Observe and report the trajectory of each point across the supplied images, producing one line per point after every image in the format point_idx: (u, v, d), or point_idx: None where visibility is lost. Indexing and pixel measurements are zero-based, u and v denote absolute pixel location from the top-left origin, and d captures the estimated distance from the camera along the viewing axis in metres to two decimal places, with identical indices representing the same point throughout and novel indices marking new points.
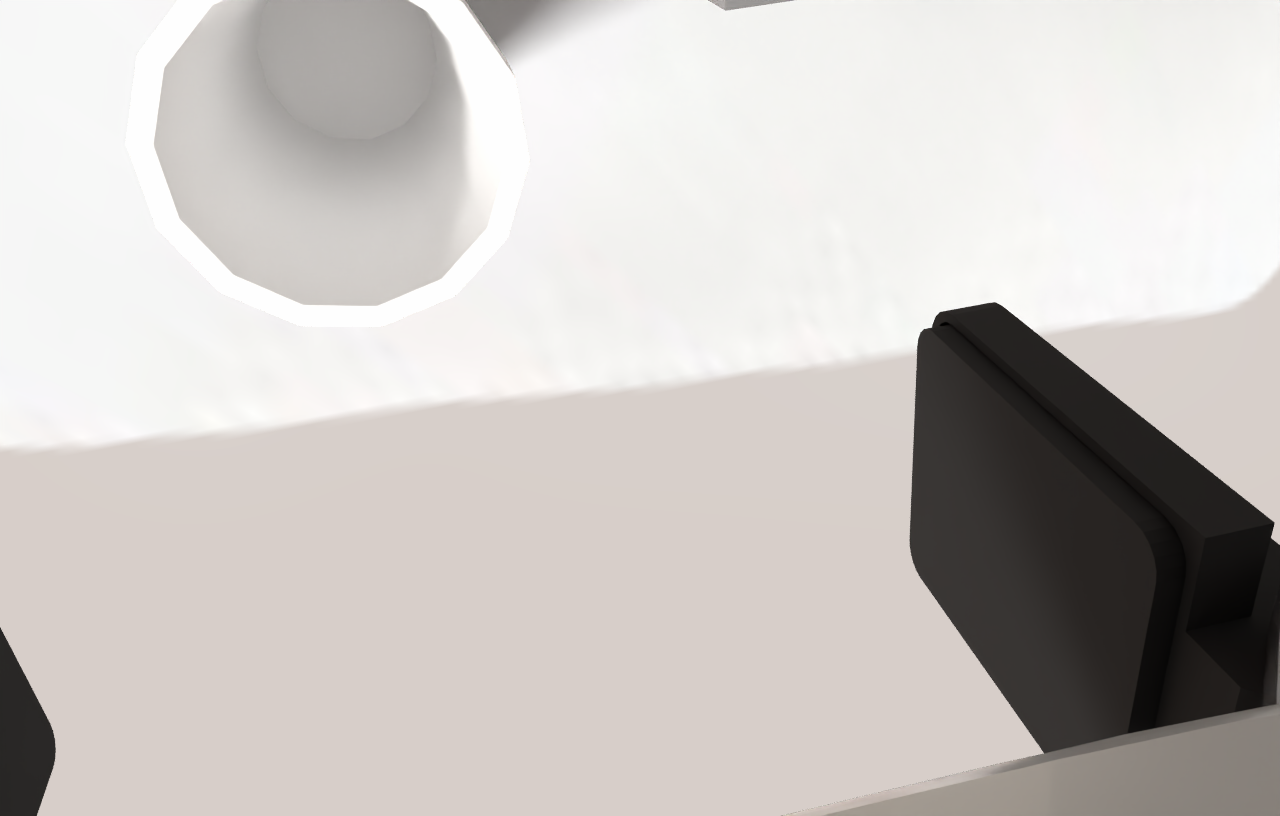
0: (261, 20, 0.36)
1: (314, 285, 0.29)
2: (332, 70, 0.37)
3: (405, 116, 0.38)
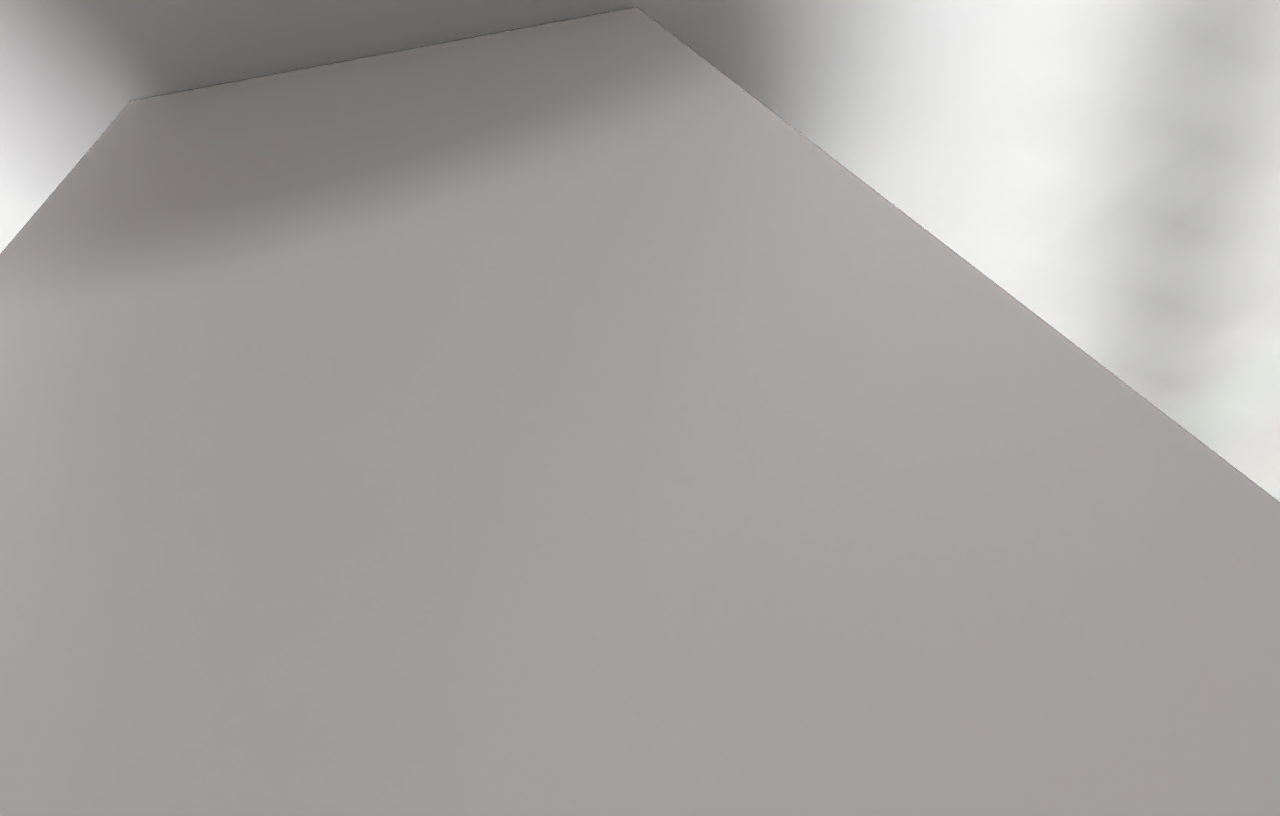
0: None
1: None
2: None
3: None
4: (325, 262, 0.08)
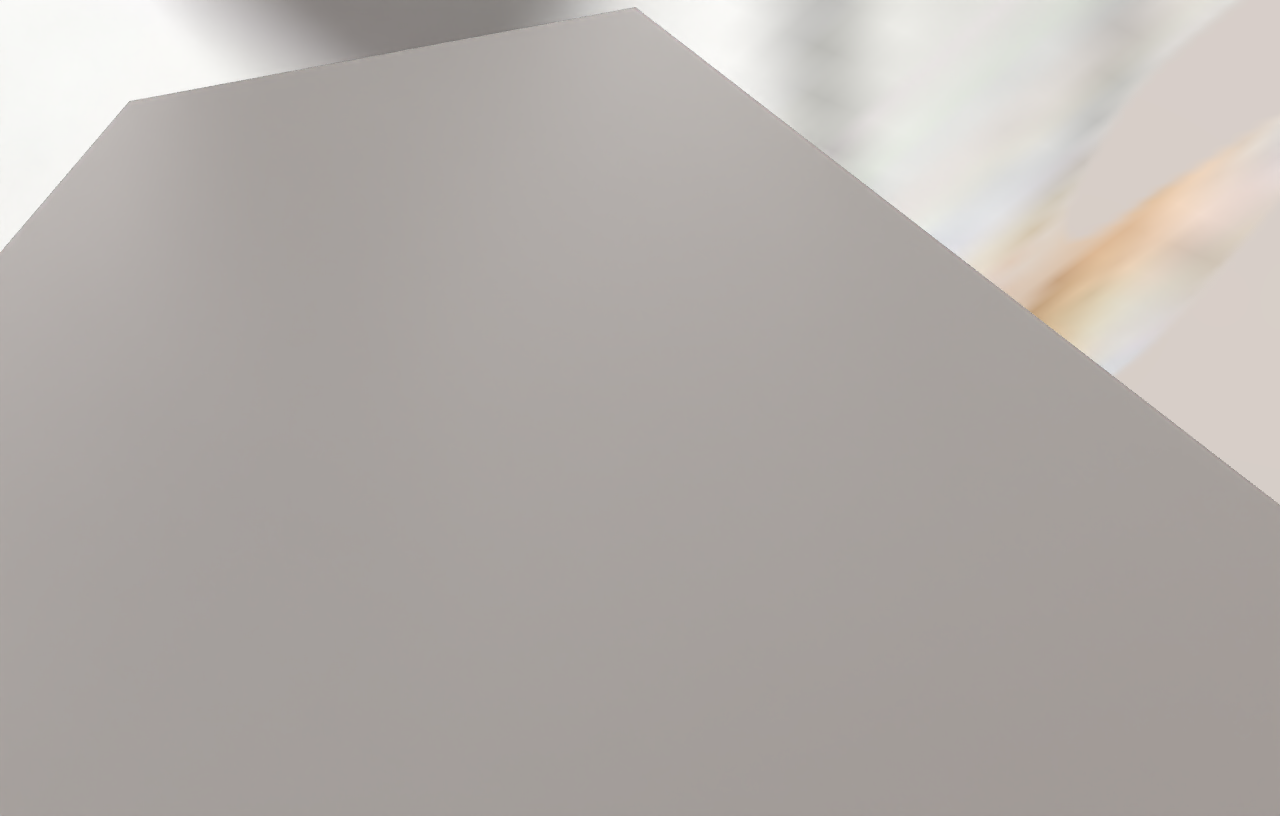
0: None
1: None
2: None
3: None
4: (323, 263, 0.08)
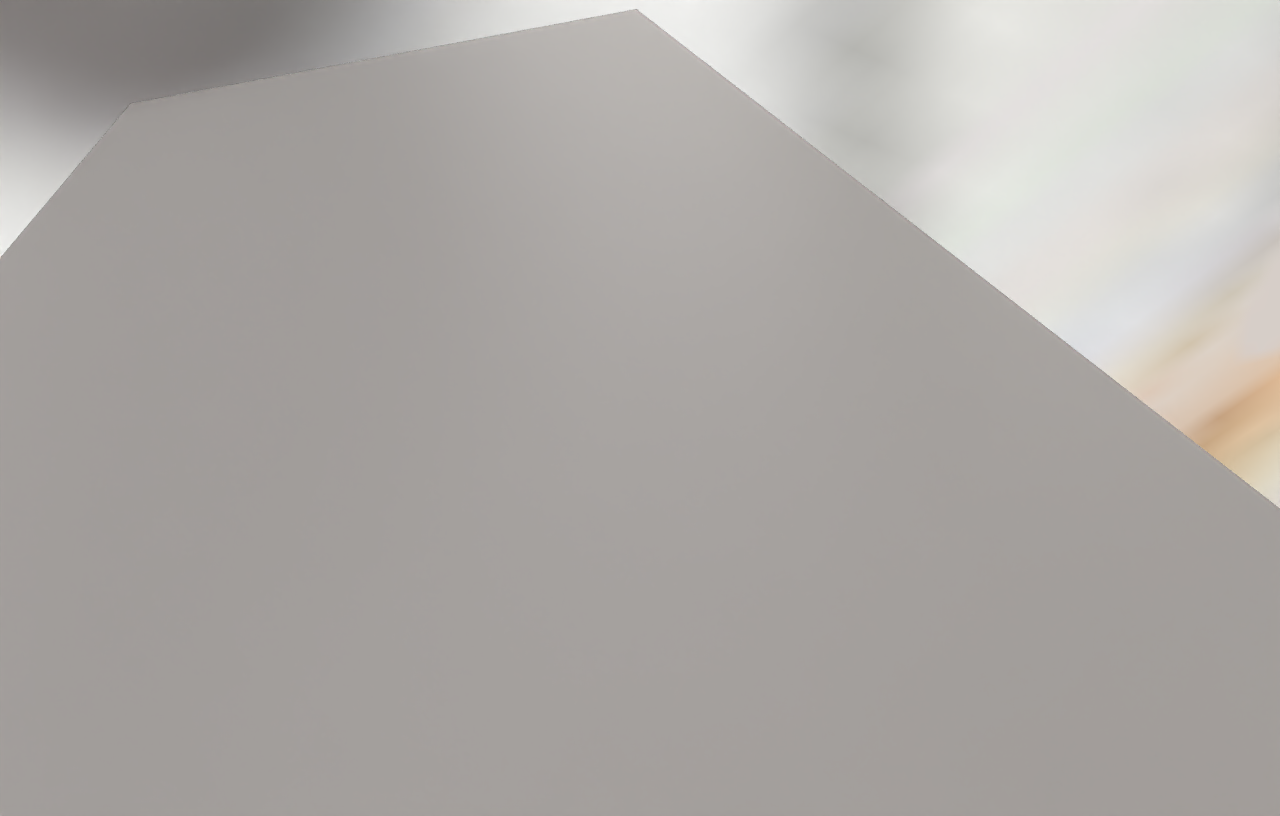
0: None
1: None
2: None
3: None
4: (325, 266, 0.08)
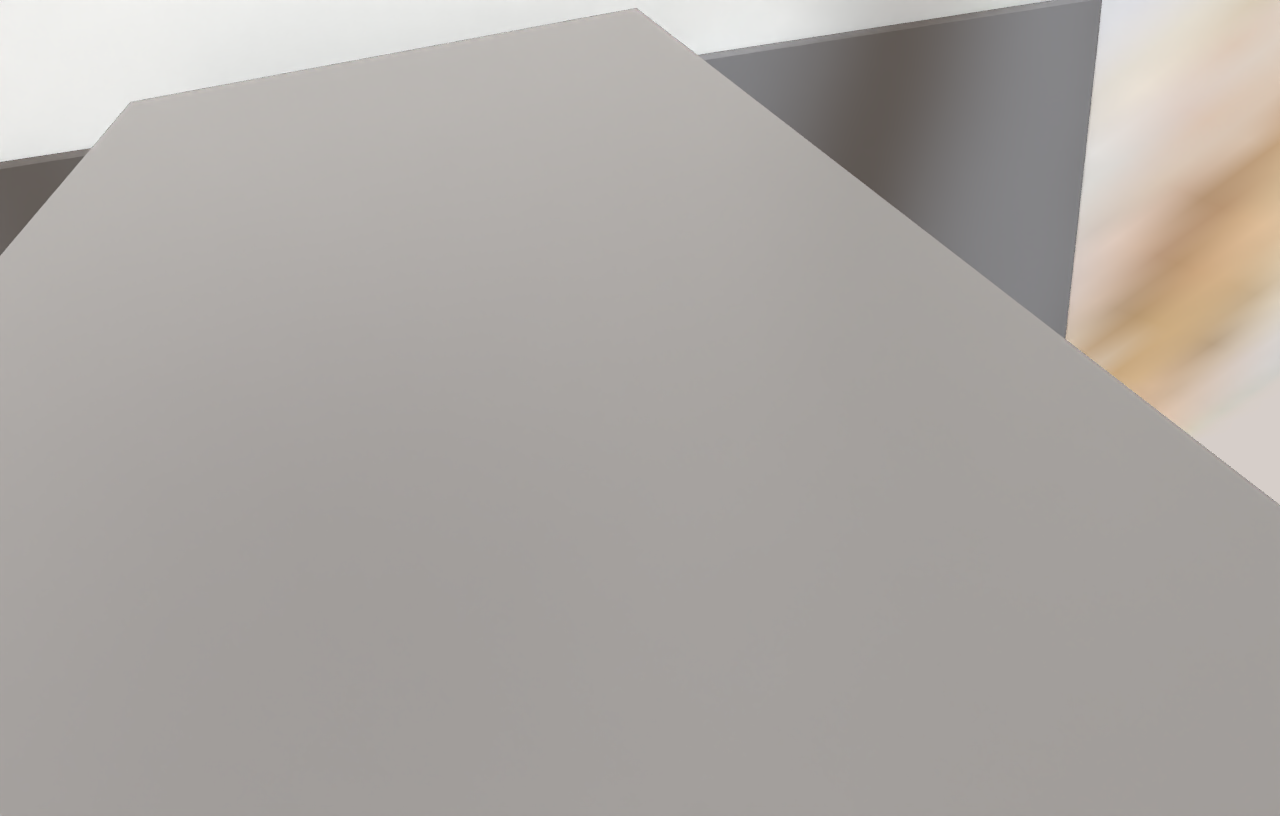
0: None
1: None
2: None
3: None
4: (325, 263, 0.08)
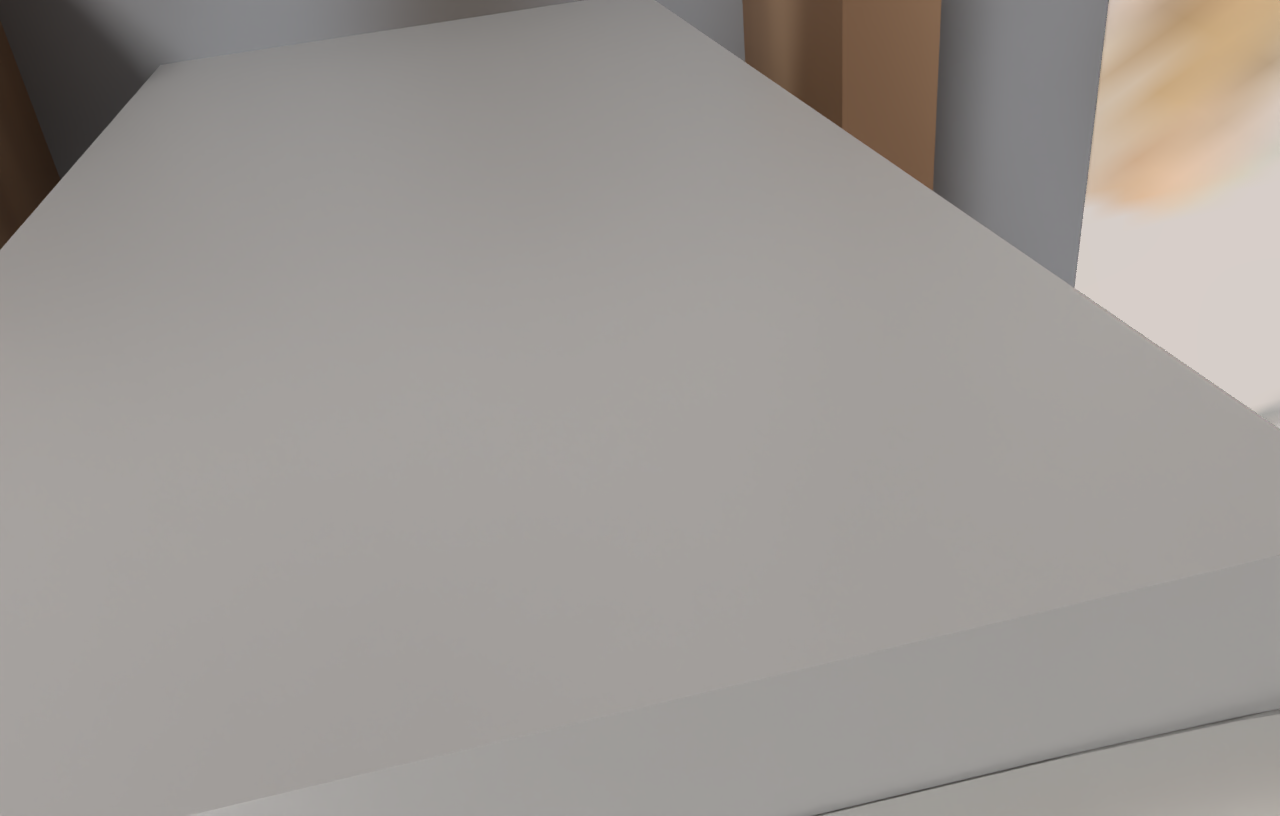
0: None
1: None
2: None
3: None
4: (360, 195, 0.09)
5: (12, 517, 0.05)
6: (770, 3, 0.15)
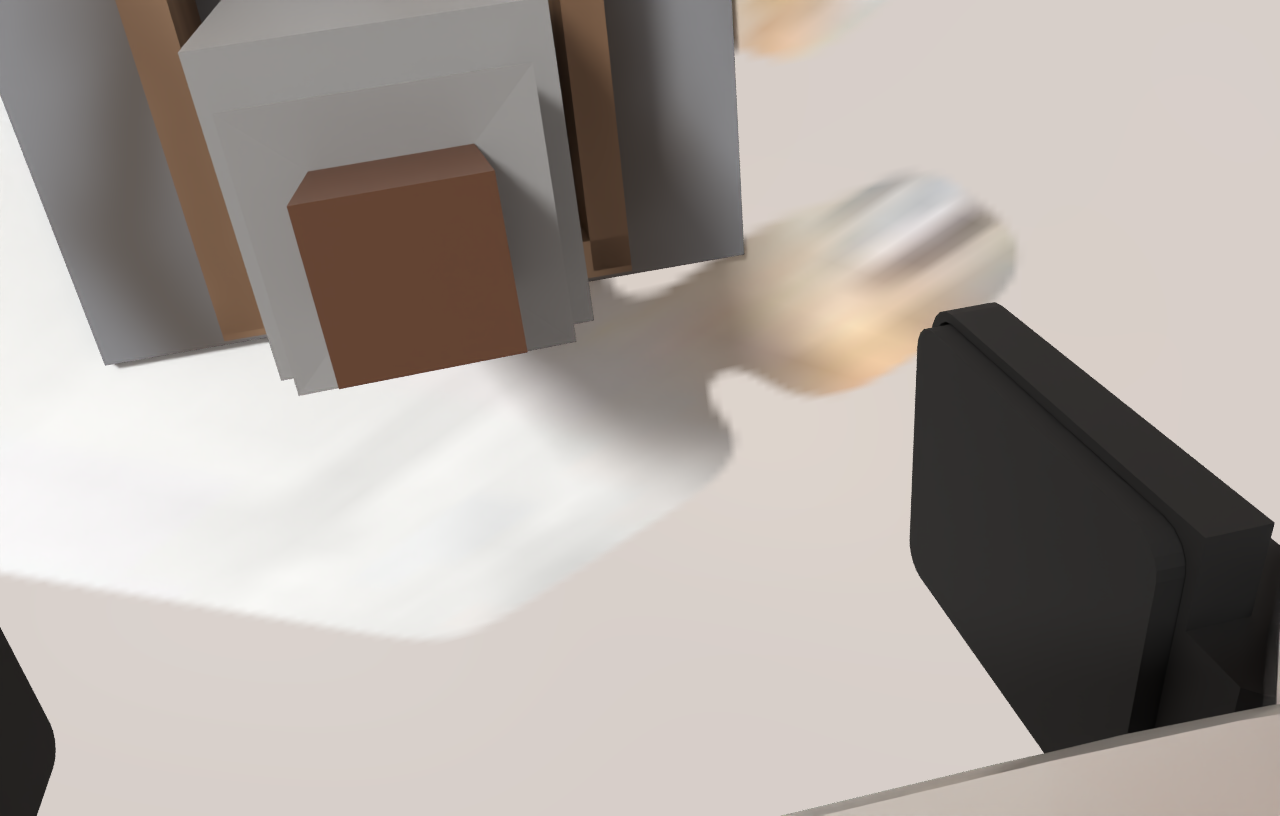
0: None
1: None
2: None
3: None
4: None
5: (260, 22, 0.21)
6: None
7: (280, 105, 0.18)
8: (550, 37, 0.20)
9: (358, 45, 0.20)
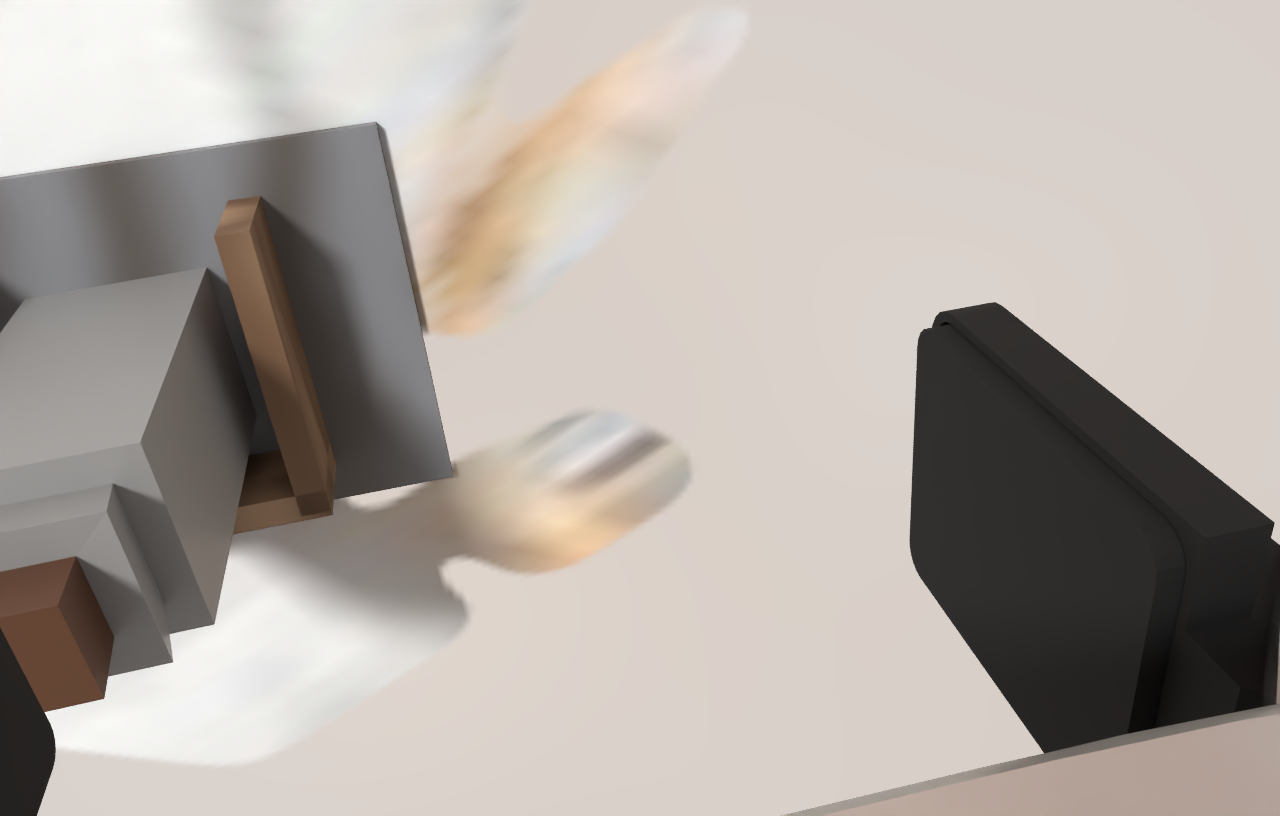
0: None
1: None
2: None
3: None
4: (51, 371, 0.35)
5: None
6: None
7: None
8: (146, 464, 0.30)
9: (10, 478, 0.30)
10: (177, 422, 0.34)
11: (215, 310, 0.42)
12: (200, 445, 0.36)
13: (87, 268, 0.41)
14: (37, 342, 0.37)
